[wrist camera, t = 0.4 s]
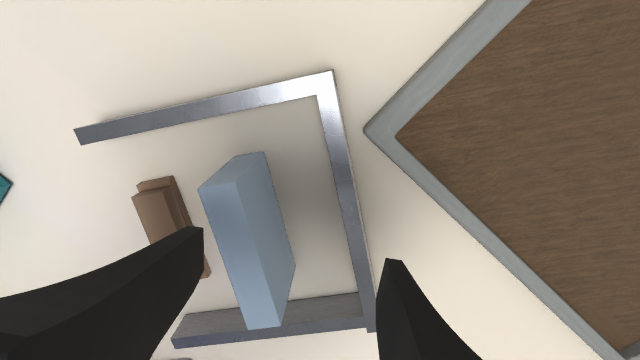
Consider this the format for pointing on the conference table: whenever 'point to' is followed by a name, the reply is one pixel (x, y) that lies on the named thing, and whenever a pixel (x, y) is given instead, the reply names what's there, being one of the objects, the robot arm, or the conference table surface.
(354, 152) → the conference table surface
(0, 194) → the teal l-shaped bracket
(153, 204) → the offcut top
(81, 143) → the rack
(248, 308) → the panel
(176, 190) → the block
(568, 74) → the picture frame
